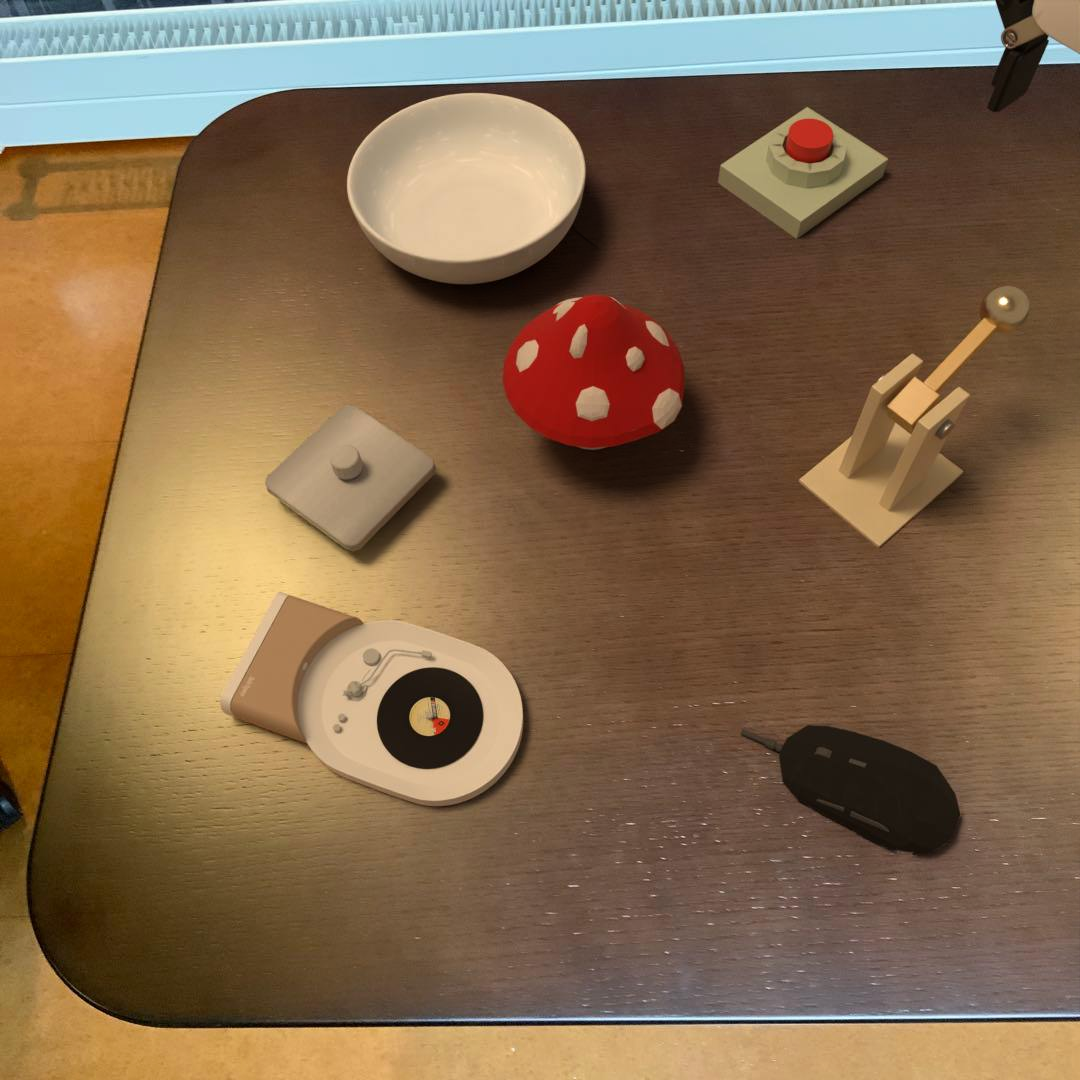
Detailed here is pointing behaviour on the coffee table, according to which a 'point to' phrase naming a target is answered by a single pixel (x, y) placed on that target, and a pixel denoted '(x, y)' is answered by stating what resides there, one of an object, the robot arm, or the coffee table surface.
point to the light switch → (350, 477)
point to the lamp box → (801, 177)
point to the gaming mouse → (869, 787)
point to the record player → (380, 701)
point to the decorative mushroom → (594, 374)
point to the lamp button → (809, 140)
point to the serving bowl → (467, 186)
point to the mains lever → (960, 355)
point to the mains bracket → (888, 461)
